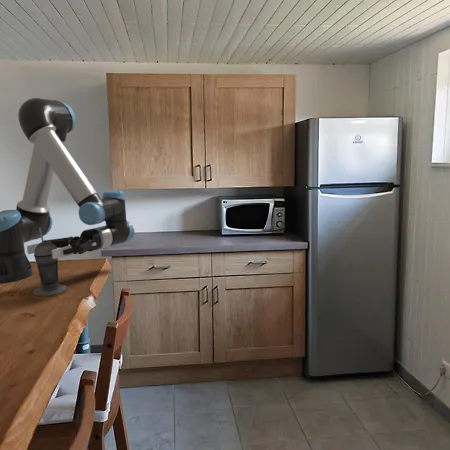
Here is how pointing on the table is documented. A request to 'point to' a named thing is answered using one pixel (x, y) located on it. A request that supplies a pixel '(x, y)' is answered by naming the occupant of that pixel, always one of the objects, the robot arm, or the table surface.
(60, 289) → the coaster
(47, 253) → the beverage cup
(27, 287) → the table surface
